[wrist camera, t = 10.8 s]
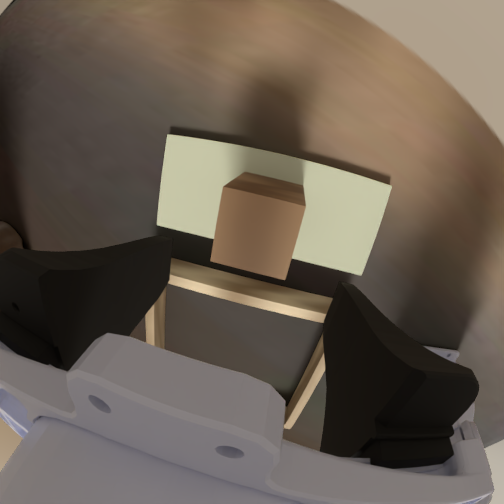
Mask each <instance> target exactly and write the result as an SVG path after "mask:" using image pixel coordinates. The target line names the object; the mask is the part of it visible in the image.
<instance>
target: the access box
mask: <svg viewBox="0 0 504 504" xmlns="http://www.w3.org/2000/svg"><path fill="white" fill-rule="evenodd" d="M168 283H169V284H172V285H176V286H179V287H183V288H186V289H190V290H193V291H197V292H200V293H204V294H208V295H211V296H215V297H218V298H222V299H226V300H230V301H234V302H237V303H241V304H245V305H249V306H253V307H257V308H261V309H265V310H269V311H273V312H277V313H282V314H286V315H290V316H294V317H299V318H303V319H308V320H312V321H317V322H321V323H324V319H325V316H326V314H327V312H328V309H329V307H330V304H331V302H332V299H333V298H330V297H325V296H321V295H317V294H312V293H308V292H304V291H300V290H296V289H292V288H287V287H283V286H279V285H275V284H271V283H267V282H263V281H259V280H255V279H251V278H247V277H243V276H239V275H235V274H231V273H228V272H224V271H220V270H216V269H212V268H208V267H205V266H201V265H197V264H193V263H190V262H186V261H182V260H178V259H175V258H171V267H170V280H169V282H168ZM165 304H166V287H165V289H164V291H163V292H162V294H161V296H160V297H159V298H158V300H157V301H156V302H155V303H154V305H153V306H152V307H151V308H150V310H149V311H148V312H147V313H146V342H147V343H148V344H151V345H153V346H156V347H159V348H162V349H164V346H165ZM324 371H325V359H324V348H323V333H322V336H321V338H320V340H319V342H318V345H317V347H316V349H315V351H314V353H313V355H312V358H311V360H310V362H309V364H308V366H307V368H306V370H305V372H304V374H303V376H302V378H301V380H300V382H299V384H298V386H297V388H296V390H295V392H294V394H293V396H292V398H291V400H290V402H289V404H288V406H287V407H286V406H285V419H284V428H287V429H291V427H292V426H293V424H294V423H295V421H296V419H297V418H298V416H299V415H300V413H301V411H302V410H303V408H304V406H305V405H306V403H307V401H308V399H309V398H310V396H311V394H312V393H313V391H314V389H315V387H316V385H317V384H318V382H319V380H320V378H321V376H322V375H323V373H324Z"/></svg>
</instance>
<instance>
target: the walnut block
mask: <svg viewBox="0 0 504 504" xmlns="http://www.w3.org/2000/svg"><path fill="white" fill-rule="evenodd" d="M305 208H306V202H305V194H304V186H303V185H299V184H295V183H292V182H288V181H284V180H279V179H275V178H271V177H267V176H263V175H258V174H254V173H249V172H244V173H242V174H241V175H239V176H238V177H236V178H235V179H233V180H232V181H230V182H229V183H227V184H226V185H224V186H223V189H222V194H221V200H220V206H219V211H218V217H217V223H216V229H215V235H214V241H213V247H212V253H211V260H210V261H212V262H215V263H219V264H223V265H227V266H231V267H234V268H238V269H242V270H246V271H250V272H254V273H258V274H262V275H266V276H270V277H274V278H278V279H282V280H285V279H286V276H287V272H288V269H289V265H290V262H291V259H292V255H293V252H294V248H295V245H296V241H297V238H298V234H299V230H300V227H301V223H302V219H303V216H304V212H305Z"/></svg>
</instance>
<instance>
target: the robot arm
mask: <svg viewBox="0 0 504 504" xmlns="http://www.w3.org/2000/svg"><path fill="white" fill-rule="evenodd" d="M172 244H173V239H171V238H167V237H164V236H153V237H148V238H144V239H140V240H136V241H132V242H128V243H123V244H119V245H114V246H110V247H105V248H99V249H92V250H84V251H67V252H50V251H36V250H28V249H21V248H15V247H13V248H10V249H8V250H6V251H4V252H3V253H1V254H0V417H1V418H2V419H3V420H4V421H5V422H6V423H7V424H8V425H9V426H10V427H11V428H12V429H13V430H14V431H15V432H16V433H17V434H19V435H20V436H21V437H22V438H23V440H22V441H21V443H20V444H19V445H18V447H17V448H16V450H15V451H14V453H13V454H12V456H11V457H10V458H9V460H8V461H7V463H6V464H5V466H4V468H3V469H2V470H1V472H0V504H489V503H490V501H491V499H492V493H493V492H494V486H493V482H492V478H491V474H492V473H491V469H490V466H489V463H488V459H487V456H486V453H485V450H484V447H483V444H482V441H481V438H480V435H479V432H478V430H477V427H476V425H475V422H473V418H474V410H475V407H474V401H475V399H476V397H477V395H478V391H479V384H478V381H477V379H476V377H475V375H474V373H473V371H472V370H471V369H469V368H467V367H464V366H462V365H459V364H457V363H456V361H455V360H456V359H457V357H458V356H459V352H458V351H457V350H450V349H442V348H435V347H428V346H422V345H421V344H419V343H418V342H416V341H415V340H413V339H412V338H410V337H409V336H408V335H406V334H405V333H404V332H403V331H401V330H400V329H399V328H398V327H396V326H395V325H394V324H393V323H392V322H391V321H390V320H389V319H388V318H386V317H385V316H384V315H383V314H382V313H381V312H380V311H379V310H378V309H377V308H376V307H375V306H374V305H373V304H372V303H371V302H370V300H369V299H368V298H367V297H366V296H365V295H364V294H363V293H362V292H361V291H360V290H359V289H358V288H356V287H355V286H354V285H352V284H348V283H344V282H340V281H339V284H338V287H337V289H336V292H335V294H334V297H333V299H332V302H331V304H330V307H329V309H328V312H327V314H326V316H325V319H324V325H323V348H324V359H325V370H326V386H327V392H326V407H325V418H324V427H323V434H322V441H321V447H320V451H317V450H314V449H310V448H307V447H304V446H301V445H298V444H295V443H293V442H290V441H287V440H284V439H282V437H283V428H284V419H285V400H284V399H283V398H282V397H281V396H280V394H279V393H278V392H277V391H276V390H275V389H274V388H273V387H272V386H271V385H270V384H268V383H265V382H263V381H261V380H258V379H256V378H254V377H251V376H249V375H247V374H245V373H241V372H237V371H233V370H229V369H226V368H222V367H219V366H215V365H212V364H208V363H205V362H201V361H198V360H195V359H192V358H189V357H186V356H182V355H179V354H176V353H173V352H171V351H168V350H165V349H162V348H159V347H156V346H153V345H151V344H148V343H145V342H143V341H140V340H137V339H135V338H132V337H129V335H130V334H131V332H132V331H133V330H134V328H135V327H136V326H137V325H138V323H139V322H140V321H141V320H142V318H143V317H144V316H145V315H146V313H147V312H148V311H149V310H150V308H151V307H152V306H153V305H154V303H155V302H156V301H157V300H158V298H159V297H160V296H161V294H162V292H163V291H164V289H165V287H166V285H167V284H168V282H169V280H170V267H171V255H172Z"/></svg>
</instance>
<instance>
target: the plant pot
mask: <svg viewBox="0 0 504 504" xmlns="http://www.w3.org/2000/svg"><path fill="white" fill-rule="evenodd" d="M13 247H15V248H21V249H24V248H23V245H22V239H21V237H20V236H19V234H18V233H17V232H16V231H15V229H13V228H12V227H11V226H10V225H9V224H8V223H5V222H3V221H0V254H1V253H3V252H4V251H6V250H8V249H10V248H13Z"/></svg>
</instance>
